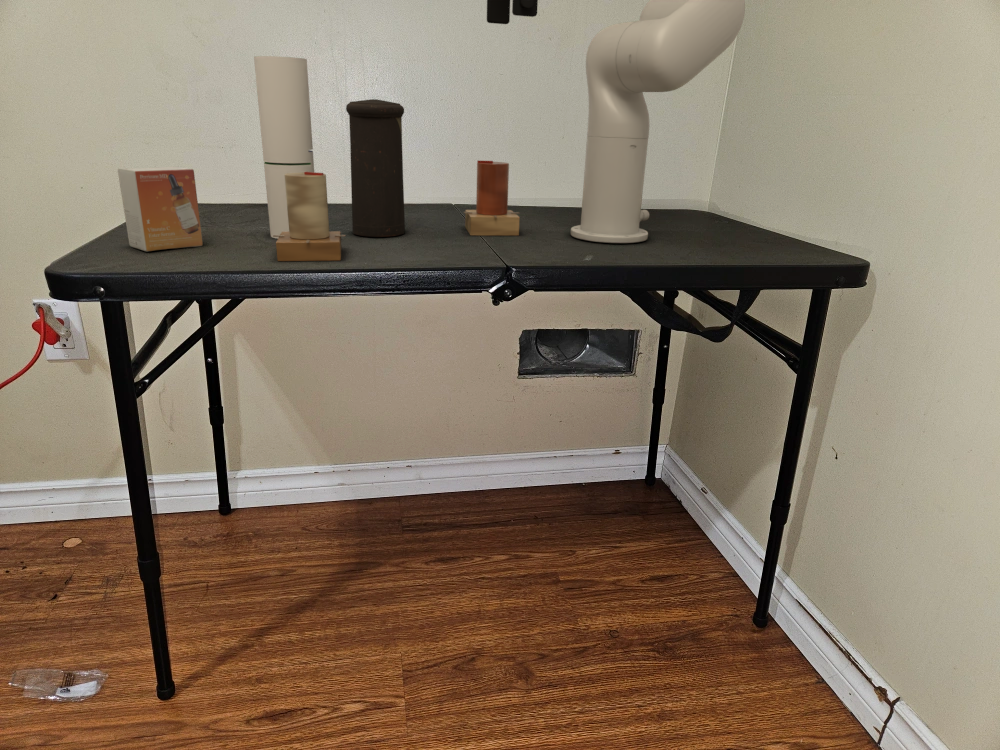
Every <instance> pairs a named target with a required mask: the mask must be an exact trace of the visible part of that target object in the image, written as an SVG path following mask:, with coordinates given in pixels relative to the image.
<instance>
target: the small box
mask: <svg viewBox="0 0 1000 750" xmlns="http://www.w3.org/2000/svg"><path fill="white" fill-rule="evenodd" d="M117 177H118V182H119V189H120V195H121V199H122V206H123V207H122V208H123V212H124V219H125V225H126V232H127V238H128V239H127V240H128V244H129V246H130V247H131V248H134V249H137V250H139V251H140V250H141V251H144V252H153V251H160V250H170V249H183V248H196V247H202V246H203V236H202V225H201V218H200V209H199V202H198V194H197V186H196V178H195V169H193V168H190V167H184V166H179V165H171V166H152V167H151V166H150V167H118V168H117Z"/></svg>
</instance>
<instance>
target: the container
mask: <svg viewBox="0 0 1000 750" xmlns="http://www.w3.org/2000/svg"><path fill="white" fill-rule="evenodd" d="M345 110H346V113H347V114H348V119H349V122H348V123H349V140H350V141H349V143H350V144H349V145H350V149H349V151H350V183H351V184H350V187H351V224H352V234H353V235H356V236H360V237H367V238H368V237H369V238H388V237H389V238H390V237H398V236H401V235H403V234H405V232H406V218H405V193H404V191H405V190H404V189H405V188H404V163H403V161H404V159H403V124H402V123H403V122H402V121H403V120H402V119H403V115H404V113H405V108H404V106H403V105H401V104H400V103H399V102H392V101H388V100H382V99H378V98H377V99H375V98H373V99H372V98H371V99H363V100H355V101H349V102H348V103H347V104H346V107H345Z"/></svg>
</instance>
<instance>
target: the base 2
mask: <svg viewBox="0 0 1000 750" xmlns="http://www.w3.org/2000/svg"><path fill="white" fill-rule="evenodd" d="M463 214H465V215H464V216H465V217H464V220H465V221H464V223H465V224H464V228H465V229H466V231H467V232H468V234H469V235H470V237H471V236H472V237H473V236H477V237H478V236H482V237H483V236H487V237H488V236H492V237H494V236H495V237H496V236H499V237H501V236H503V237H505V236H509V237H510V236H511V237H515V236H518V237H519V236H520V219H521V218H520V216H519V214H520V211H519V212H517V211H516V212H515V211H513V210H512V209H508V211H507V214H505V215H483V214H478V213H476V209H465V211H463Z"/></svg>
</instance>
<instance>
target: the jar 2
mask: <svg viewBox="0 0 1000 750" xmlns="http://www.w3.org/2000/svg"><path fill="white" fill-rule="evenodd" d="M509 178H510V163H509V162H503V161H493V160H479V159H478V160H477V161H476V197H475V198H476V202H475V203H476V204H475V205H476V206H475V210H476V213H478V214H483V215H505V214H507V211H508V210H509V180H510V179H509Z"/></svg>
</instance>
